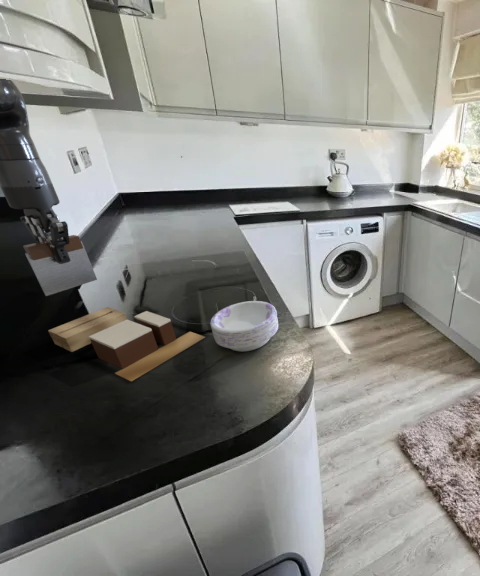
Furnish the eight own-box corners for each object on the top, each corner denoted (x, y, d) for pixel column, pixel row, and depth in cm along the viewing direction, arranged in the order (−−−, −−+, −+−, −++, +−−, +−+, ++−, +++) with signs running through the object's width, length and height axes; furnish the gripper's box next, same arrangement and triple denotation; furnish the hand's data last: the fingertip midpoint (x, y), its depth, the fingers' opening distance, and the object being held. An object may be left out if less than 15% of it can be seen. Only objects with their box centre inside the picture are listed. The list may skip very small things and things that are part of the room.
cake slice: (141, 336, 82) (134, 316, 79) (153, 330, 84) (146, 310, 82) (165, 345, 79) (158, 325, 76) (176, 339, 81) (170, 319, 78)
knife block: (73, 355, 76) (65, 338, 74) (56, 347, 79) (47, 330, 76) (131, 328, 87) (124, 312, 84) (114, 322, 89) (107, 306, 87)
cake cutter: (48, 296, 72) (24, 247, 67) (43, 295, 73) (19, 246, 68) (99, 280, 80) (81, 235, 75) (94, 278, 81) (76, 234, 76)
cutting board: (78, 358, 75) (77, 355, 75) (155, 321, 90) (154, 318, 89) (132, 385, 68) (131, 381, 67) (206, 340, 83) (205, 336, 82)
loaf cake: (98, 358, 74) (88, 336, 71) (134, 339, 80) (127, 319, 78) (122, 369, 71) (113, 347, 68) (158, 349, 77) (151, 328, 75)
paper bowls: (218, 331, 86) (212, 305, 83) (277, 320, 92) (273, 296, 88) (214, 365, 74) (207, 337, 70) (283, 351, 79) (279, 324, 76)
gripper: (-17, 182, 65) (23, 262, 73) (18, 188, 60) (57, 273, 68) (32, 178, 71) (64, 252, 79) (67, 183, 67) (98, 261, 74)
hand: (61, 261), depth 73 cm, fingers closed on cake cutter, 2 cm apart
